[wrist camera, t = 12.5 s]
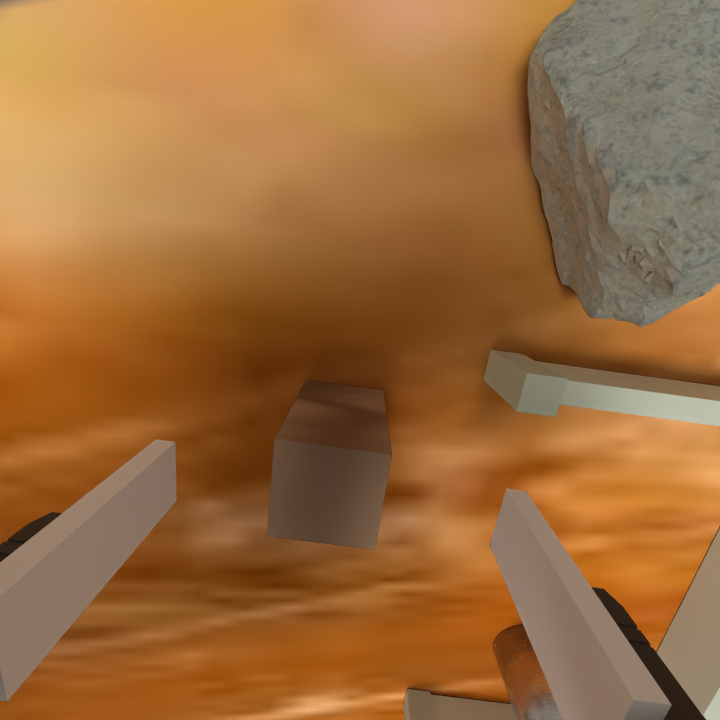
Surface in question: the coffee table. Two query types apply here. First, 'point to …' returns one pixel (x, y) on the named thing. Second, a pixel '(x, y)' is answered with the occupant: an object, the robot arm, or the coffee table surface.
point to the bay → (716, 574)
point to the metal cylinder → (524, 676)
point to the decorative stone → (630, 152)
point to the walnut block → (331, 466)
